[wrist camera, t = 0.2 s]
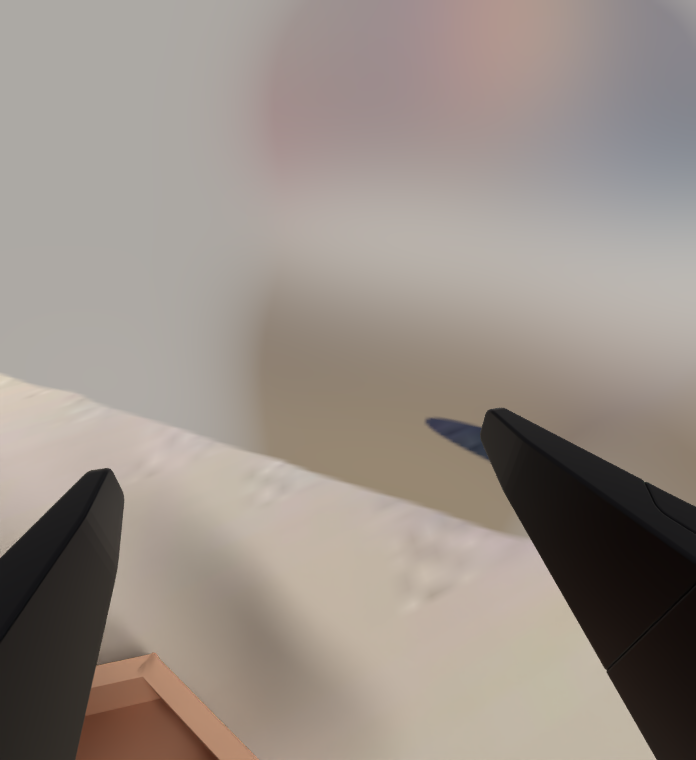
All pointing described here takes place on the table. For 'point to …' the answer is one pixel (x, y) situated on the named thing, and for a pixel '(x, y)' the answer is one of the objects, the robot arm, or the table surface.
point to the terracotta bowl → (151, 717)
